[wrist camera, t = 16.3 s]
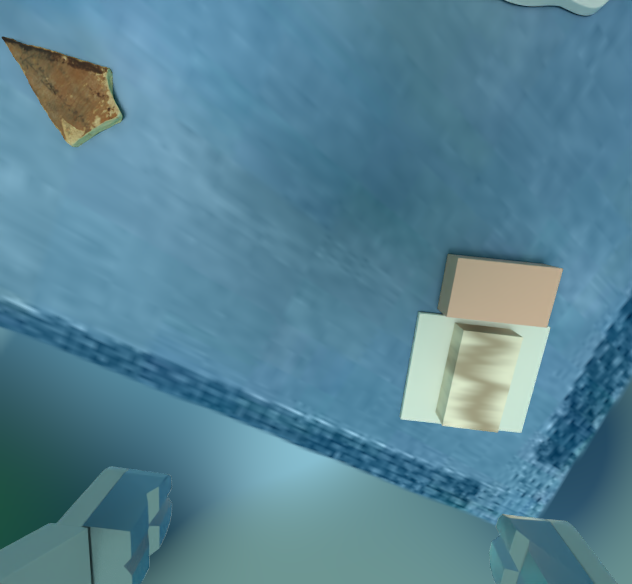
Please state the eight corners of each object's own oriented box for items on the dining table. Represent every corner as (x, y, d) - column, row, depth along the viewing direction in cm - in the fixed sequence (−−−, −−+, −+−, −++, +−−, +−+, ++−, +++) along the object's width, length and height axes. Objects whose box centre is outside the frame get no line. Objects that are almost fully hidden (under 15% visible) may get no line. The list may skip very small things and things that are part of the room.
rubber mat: (399, 416, 40) (400, 419, 40) (418, 311, 37) (419, 313, 36) (518, 429, 40) (521, 432, 39) (546, 325, 37) (550, 327, 36)
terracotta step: (437, 308, 37) (446, 316, 34) (448, 253, 35) (458, 257, 33) (529, 318, 37) (546, 327, 34) (543, 263, 35) (563, 268, 32)
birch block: (454, 322, 37) (435, 412, 39) (463, 330, 34) (442, 425, 37) (510, 329, 36) (487, 418, 39) (523, 337, 34) (497, 432, 37)
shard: (15, 44, 33) (-3, 34, 31) (78, 3, 32) (63, -9, 30) (77, 150, 35) (64, 147, 33) (138, 115, 34) (128, 110, 32)
